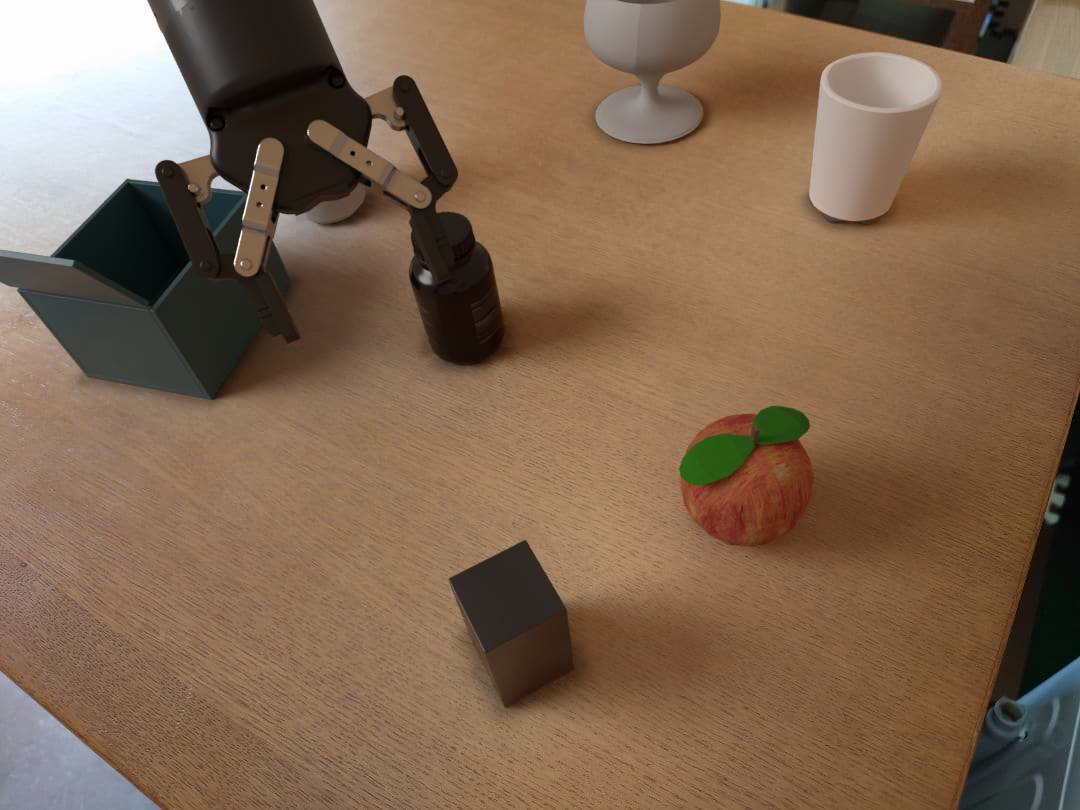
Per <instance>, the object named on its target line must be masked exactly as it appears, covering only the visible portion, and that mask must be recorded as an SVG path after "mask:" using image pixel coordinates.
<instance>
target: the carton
mask: <svg viewBox="0 0 1080 810" xmlns="http://www.w3.org/2000/svg"><path fill="white" fill-rule="evenodd" d="M211 191H212V197H211V200H210V201H209V202H208V203H207V204H205V205H202V207H203V210H204V212H205V215H206V217H207V219H208V222H209V224H210V227H211V229H212V232H213V234H214V237H215V239H216V242H217V244H218V247H219V249H220V252H221V254H236V252H237V248H238V243H239V239H240V235H241V230H242V219H243V214H244V210H245V206H246V201H247V197H248V194H247V193H245V192H244V191H242V190H234V189H225V188H215V187H211ZM49 257H56V258H63V259H70V260H76V261H77V262H79V263H81V264H83V265H85V266H86V267H88V268H90V269H92V270H94V271H95V272H97V273H99V274H101V275H102V276H104V277H106V278H108V279H110V280H111V281H113V282H115V283H117V284H119V285H120V286H122V287H124V288H126V289H128V290H129V291H131V292H133V293H135V294H137V295H138V296H140V297H142V298H144V299H145V300H147V301H149V305H148V308H146V307H140V306H133V305H127V304H120V303H114V302H107V301H101V300H94V299H88V298H81V297H75V296H68V295H62V294H55V293H49V292H42V291H36V290H29V289H23V288H16V292H17V293H18V294H19V296H20V297H21V298H22V300H24V301H25V303H26V304H27V306H29V307H30V309H31V310H32V311H33V312H34V314H35V315H36V316H37V317H38V318H39V320H40V321H41V322H42V324H43V325H44V326H45V327H46V329H47V330H48V331H49V332H50V333H51V334H52V336H53V337H54V339H56V341H57V342H58V343H59V344H60V346H61V347H62V348H63V349H64V350H65V352H66V353H67V354H68V355H69V356H70V358H71V359H72V360H73V362H74V363H75V364H76V365H77V366H78V368H79V369H80V370H81V371H82V372H83V373H84V375H85V376H86V377H87V378H92V379H96V380H102V381H107V382H114V383H118V384H119V383H120V384H124V385H130V386H134V387H141V388H145V389H151V390H155V391H161V392H167V393H173V394H179V395H184V396H188V397H189V396H190V397H195V398H201V399H206V400H213V398H214V397H215V396H216V394H217V393H218V392H219V390H220V388H221V387H222V386H223V384H224V382H225V381H226V380H227V378H228V377H229V375H230V374H231V372H232V371H233V369H234V368H235V366H236V365H237V363H239V361H240V359H241V358H242V357H243V355H244V353H245V352H246V351H247V349H248V348H249V347H250V345H251V343H252V341H253V340H254V339H255V337H256V336H257V334H258V333H259V332H260V330H261V329H262V327H264V326H263V324H262V322H261V320H260V318H259V316H258V314H257V311H256V309H255V307H254V305H253V303H252V301H251V299H250V297H249V295H248V293H247V291H246V288H245V287H244V285H243V284H242V283H241V282H240V281H238V280H220V281H211V280H208V279H206V278H203V277H201V276H199V275H198V274H197V273H196V272H195V270H194V268H193V265H192V263H191V261H190V258H189V256H188V253H187V251H186V248H185V246H184V244H183V241H182V239H181V236H180V234H179V231H178V229H177V227H176V224H175V222H174V219H173V217H172V214H171V212H170V209H169V207H168V205H167V202H166V200H165V197H164V195H163V192H162V190H161V188H160V185H159V183H158V181H150V180H140V179H133V178H131V179H130V178H126V179H125V180H124V181H123V182H122V183H121V184H120V185H119V186H118V187H117V188H116V189H114V191H113V192H112V193H111V194H110V195H109V196H108V197H107V198H106V199H105V200H104V201H103V202H102V203H101V204H100V205H99V206H98V207H97V208H95V210H94V211H93V212H92V213H91V214H90V215H89V216H88V217H87V218H86V219H85V220H84V221H83V222H82V223H81V224H80V225H79V227H77V228H76V229H75V230H74V231H73V232H72V234H71V235H69V236H68V237H67V238H66V240H65V241H64V242H63V243H61V244H60V246H58V248H57V249H55V250H54V252H53V253H52V254H50V255H49ZM265 269H266V272H269V273H270V274H271V275H273V277H274V279H275V281H276V284H277V286H278V288H279V290H280V292H281V294H282V296H283V297H284V295H285V293H286V292H287V291H288V289H289V288H290V287H291V285H292V280H291V278H290V275H289V273H288V271H287V269H286V267H285V265H284V262H283V260H282V258H281V256H280V253H279V251H278V249H277V247H276V244H275V242H274V239H273V240H272V243H271V247H270V251H269V256H268V260H267V264H266V268H265Z"/></svg>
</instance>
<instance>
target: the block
mask: <svg viewBox="0 0 1080 810" xmlns="http://www.w3.org/2000/svg"><path fill="white" fill-rule="evenodd" d="M548 576H549V575H547V573H546V571H545V570H544V568H543V565H542V564H541V563H540V561H539V559H538V558H537V555H536V554H535V553H534V551H533V549H532V547H531V546H530V544H529V543H528V541H527V540H526V539H523V540H522V541H520V542H518V543H516V544H514V545H511V546H510V547H508V548H506V549H504V550H502V551H499V552H498V553H496V554H493V555H492V556H490V557H488V558H486V559H484V560H482V561H480V562H478V563H476V564H474V565H473V566H470V567H468V568H466V569H464V570H463V571H460V572H459V573H456V574H455V575H453V576H452V575H451V576H450V577H449V578H448V579H447V580H448V583H449V586H450V588H451V591H452V593H453V596H454V598H455V601H456V604H457V606H458V609H459V611H460V614H461V617H462V619H463V622H464V624H465V627H466V629H467V632H468V635H469V637H470V640H471V642H472V644H473V646H474V648H475V650H476V652H477V654H478V657H479V658H480V660H481V662H482V665H483V667H484V669H485V671H486V673H487V675H488V678H489V679H490V681H491V683H492V685H493V688H494V689H495V691H496V694H497V695H498V697H499V700H500V702H501V704H502V706H503V708H505V709H506V708H508V707H510V706H511V705H513V704H515V703H517V702H519V701H520V700H523V699H524V698H525V697H527V696H529V695H532V694H533V693H535V692H536V691H538V690H540V689H541V688H543V687H545V686H547V685H549V684H551V683H553V682H555V681H556V680H558V679H560V678H562V677H563V676H565V675H567V674H569V673H570V672H573V671H574V670H576V667H575V661H574V654H573V646H572V639H571V632H570V624H569V617H568V609H567V606H566V605H565V603H564V602H563V600H562V598H561V597H560V595H559V593H558V591H557V590H556V589H555V587H554V584H553V583H552V582H551V579H550V578H549V577H548Z"/></svg>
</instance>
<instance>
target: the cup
mask: <svg viewBox="0 0 1080 810" xmlns="http://www.w3.org/2000/svg"><path fill="white" fill-rule="evenodd" d="M943 92H944V81H943V79H942V76H940V74H939V73H938V72H937V71H936V70H935V69H934V68H933V67H932V66H931V65H929V64H927V63H925V62H923V61H921V60H919V59H916V58H913V57H910V56H908V55H904V54H897V53H894V52H893V53H892V52H884V51H883V52H881V51H872V52H871V51H870V52H860V53H856V54H850V55H847V56H845V57H842V58H839V59H837V60H834V61H833V62H831V63H829V64H827V65H826V66H825V68H824V70H823V71H822V72H821V77H820V82H819V91H818V100H817V111H816V121H815V131H814V141H813V152H812V153H813V154H812V159H811V160H812V161H811V172H810V181H809V191H808V196H809V197H808V198H809V202H810V204H812V205H813V206H814V207H815V208H816V209H817V210H818V211H819V212H820V213H821V214H822V216H823V217H824V218H825V219H826V220H827V222H830V223H832V224H834V223H836V224H837V223H840V222H858V223H860V224H861V225H867V226H869V225H871V224H873V223H874V222H875V221H876V220H878V219H880V217H882V216H883V215H884V214H886V213H887V212H888V211H890V208H891V206H892V205H893V203H894V200H895V198H896V196H897V194H898V191H899V189H900V187H901V185H902V182H903V180H904V178H905V176H906V173H907V172H908V169H909V168H910V165H911V163H912V160H913V158H914V156H915V153H916V151H917V149H918V147H919V145H920V143H921V140H922V138H923V136H924V134H925V131H926V129H927V127H928V124H929V122H930V120H931V118H932V115H933V114H934V111H935V109H936V107H937V104H938V102H939V100H940V98H941V97H942V93H943Z"/></svg>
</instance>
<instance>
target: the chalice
mask: <svg viewBox="0 0 1080 810" xmlns="http://www.w3.org/2000/svg"><path fill="white" fill-rule="evenodd" d="M721 13H722V11H721V1H720V0H586V3H585V7H584V12H583V32H584V39H585V41H586V43H587V46H588V47H589V49H590V52H591V53H592V54H593V55H594V57H596V58H597V59H598V60H599V61H600V62H601V63H603V64H605V65H606V66H609V67H610V68H612V69H614V70H616V71H620V72H621V73H625V74H630V75H633V76H635V77H636V78H637V80H638V82H639V83H640V84H639V85H633V86H629V87H625V88H622V89H619V90H617V91H615V92H613V93H611V94H610V95H608V96H607V97H605V98H604V99H603V100H602V101H601V102H600V104H599V105H598V106H597V108H596V111H595V121H596V123H597V127H599V128H600V129H601V130H602V132H604V133H605V134H607V135H609V136H610V137H612V138H615V139H617V140H620V141H622V142H627V143H633V144H645V145H646V144H647V145H648V144H661V143H665V142H671V141H675V140H676V139H679V138H682V137H685V136H686V135H688V134H690V133H692V132H693V131H694V130H695V129H696V128H697V127H699V125H700V124H701V122H702V120H703V118H704V108H703V104H702V103H701V102H700V101H699V99H698V98H697V97H695V96H694V95H692V94H691V93H689V92H688V91H686V90H684V89H682V88H679V87H676V86H672V85H666V84H660V82H661V80H662V78H663V77H664V76H665V75H667V74H670V73H673V72H677V71H680V70H682V69H684V68H686V67H688V66H690V65H692V64H693V63H695V62H697V61H699V60H700V59H701V58H702V57H704V56H705V55H706V53H707V52H708V51H709V50H710V49H711V47H712V46H713V44H714V43H715V41H716V39H717V37H718V36H719V32H720V26H721V18H722V17H721V16H722V15H721Z"/></svg>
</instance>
